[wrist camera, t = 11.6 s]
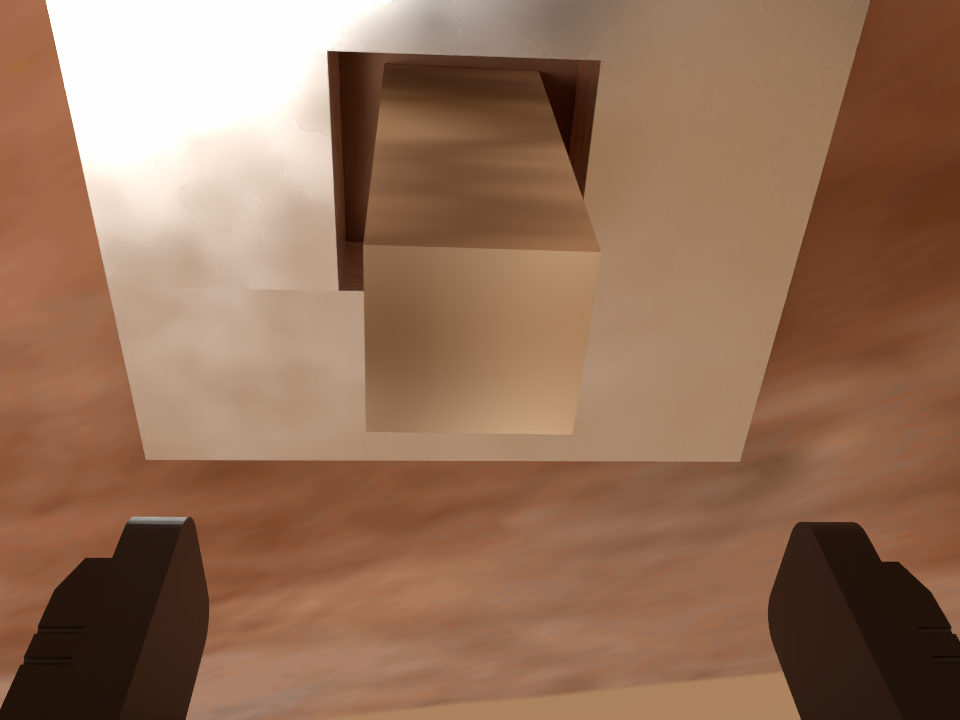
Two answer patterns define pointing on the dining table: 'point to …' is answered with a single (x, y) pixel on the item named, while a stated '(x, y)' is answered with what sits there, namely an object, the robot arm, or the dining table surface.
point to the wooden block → (474, 258)
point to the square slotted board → (339, 264)
